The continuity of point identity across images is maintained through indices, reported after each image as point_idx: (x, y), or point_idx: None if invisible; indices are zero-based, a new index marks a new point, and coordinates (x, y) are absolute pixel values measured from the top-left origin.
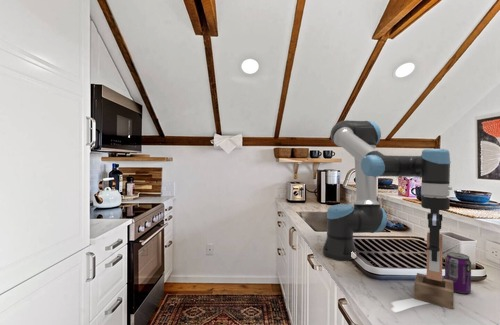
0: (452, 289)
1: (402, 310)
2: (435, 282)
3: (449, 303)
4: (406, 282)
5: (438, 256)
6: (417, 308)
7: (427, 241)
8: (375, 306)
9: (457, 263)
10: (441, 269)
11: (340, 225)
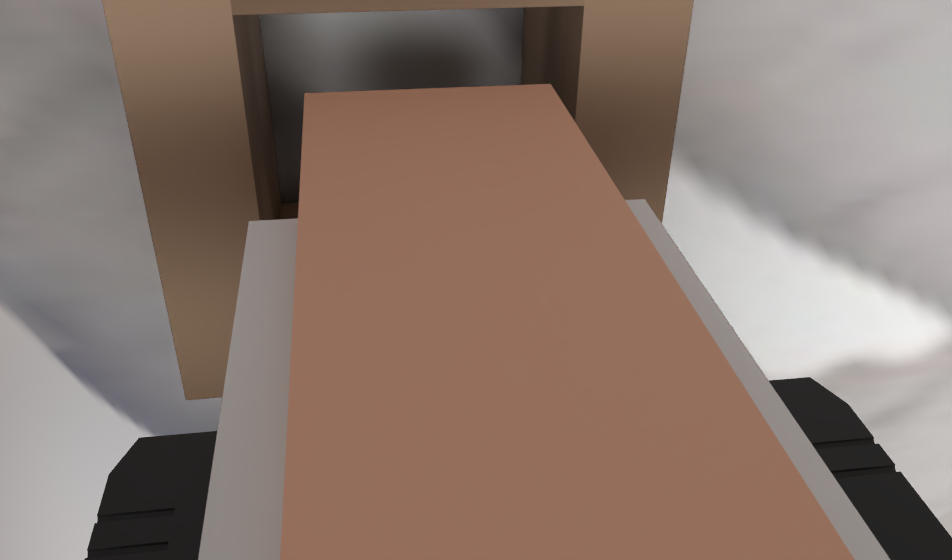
0: None
1: (904, 288)
2: (253, 137)
3: None
4: (157, 384)
5: (797, 453)
6: (803, 193)
7: None
8: (920, 447)
9: None
10: (612, 193)
11: None
